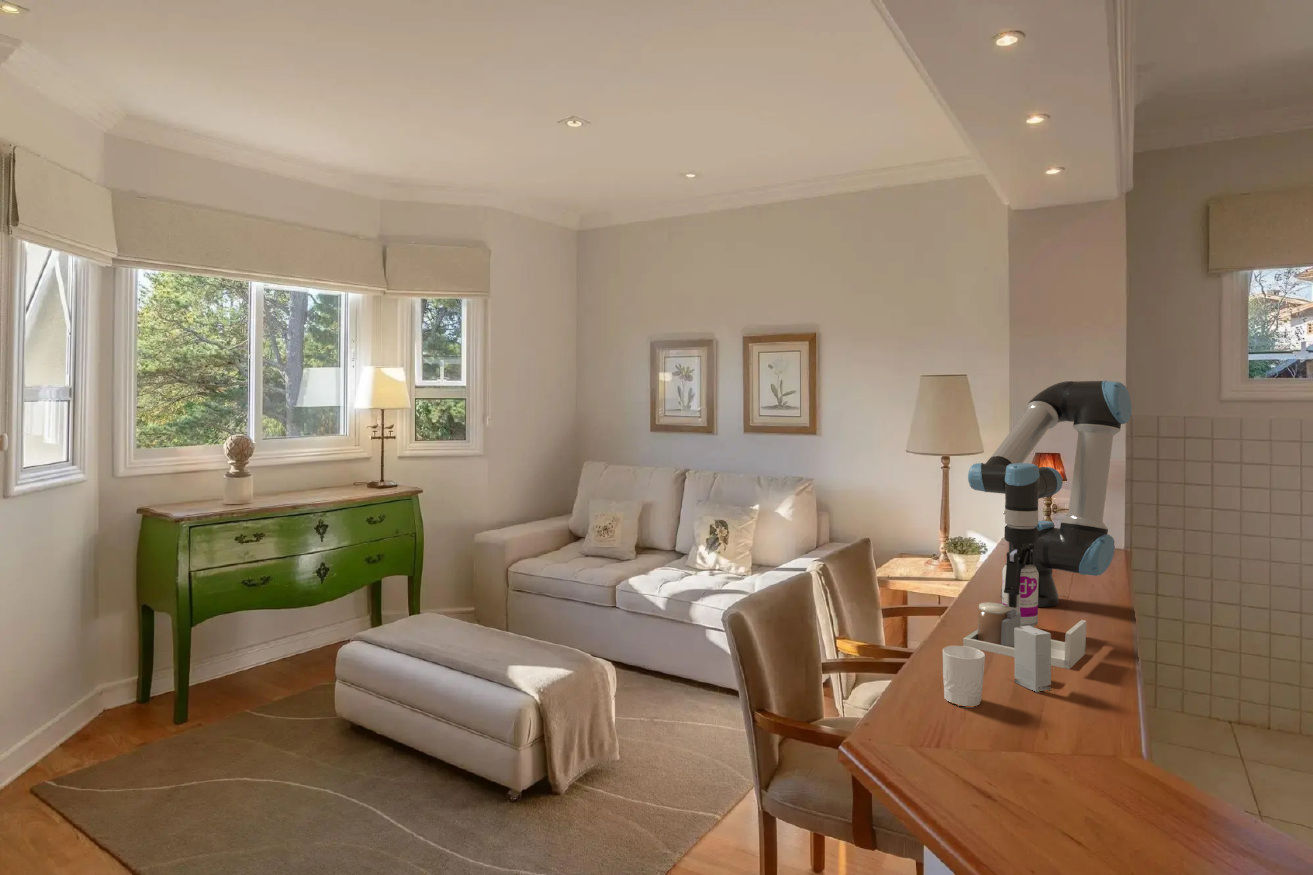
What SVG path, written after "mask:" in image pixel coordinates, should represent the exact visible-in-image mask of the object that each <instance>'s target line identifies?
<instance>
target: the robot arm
mask: <svg viewBox="0 0 1313 875" xmlns="http://www.w3.org/2000/svg"><path fill="white" fill-rule="evenodd" d="M1131 399H1132V398H1131V395H1130V393H1129V390H1128V388H1127V387H1126V385H1125V384H1124V383H1122V382H1120V381H1111V380H1109V381H1108V380H1091V381H1090V380H1089V381H1088V380H1087V381H1086V380H1085V381H1084V380H1082V381H1073V380H1072V381H1071V380H1070V381H1061V382H1058V383H1055V384H1053V385H1051V386H1047V388H1045V389H1043V390H1041V391H1039V393H1037V394H1036V395H1034V396H1033V398H1032V399H1030V400H1029V401H1028V403H1026V405H1025V407H1024V408H1023V416H1022V417H1021V418H1019V420H1018V422H1017V423H1016V424H1015V426H1014V427H1013V428H1012V429H1011V430H1010V432H1009V433H1008V434H1007V436H1006V437H1005V438H1004V439H1003V441H1002V442H1001V443H1000V445H998V448H997V449H996V450H995V451H994V453H993V454H992V455H991V456H990V457H989V459H988V460H987V461H986V463H985V462H984V463H983V462H980V463H979V462H978V463H977V462H975V463H973V464H972V465H971V466H970V468H969V470H968V474H967V482H968V483H969V487H970V488H971V489H973V490H974V491H980V492H984V493H992V494H993V493H994V494H1004V495H1005V498H1004V499H1005V503H1004V510H1003V512H1002V514H1003V515H1004V523H1005V526H1004V533H1003V534H1004V541H1006V542H1008V551H1007V553H1006V563H1007V566H1006V579H1005V590H1004V593H1008V607H1009V611H1011V610H1016V612H1020V594H1019V588H1020V574H1021V569H1023V568H1025V565H1030V564H1033V565H1035V566H1036V569H1037V571H1038V573H1039V579H1038V608H1039V607H1040V608H1045V607H1046V608H1047V607H1053V606H1057V605H1059V593H1058V590H1057V586H1056V583H1055V580H1054V577H1053V570H1057V571H1062V572H1063V571H1064V572H1068V573H1073V574H1079V575H1082V576H1093V577H1094V576H1095V577H1097V576H1098V577H1099V576H1102V575H1103V574H1104V573H1106V571H1107V570H1108V569H1109V567H1110V566H1111V563H1112V560H1113V558H1114V554H1115V548H1116V545H1115V539H1114V538H1113V536H1112V535H1110V534H1108V532H1109V528H1108V527H1107V525H1106V524H1105V523H1104V514H1105V502H1106V498H1107V497H1106V496H1107V489H1108V480H1109V471H1110V464H1111V458H1112V457H1111V456H1112V450H1113V448H1112V447H1113V440H1114V436H1116V435H1117V434H1118V433H1120V432H1121V426H1122V425H1125V424H1127V423H1128V422H1130V419H1131V417H1132V408H1133V406H1132V400H1131ZM1061 422H1063V423H1064V422H1073V424H1072V425H1073V427H1072V428H1074V429H1075V431H1076V432H1077V433H1078V434H1077V441H1076V448H1075V456H1074V465H1073V472H1072V480H1071V488H1070V495H1069V503H1068V513H1067V516H1066V518H1064V519H1062V521H1060V527H1059V528H1058V527H1056V526H1055V523H1054V522H1053V521H1049V520H1039V499H1044V498H1049V497H1052V496H1053V495H1055V494H1057V493H1059V492H1060V490H1061V489H1062V486H1063V484H1064V483H1063V481H1064V480H1063V477H1062V474H1061V473H1060V472H1059V471H1058V469H1056V468H1054V467H1050V466H1040V467H1038V465H1037V464H1034V463H1028V462H1027V463H1025V461H1026V459H1027V458H1028V457H1029V455H1030V454H1031V453H1032V451H1033V450H1034V449H1035V447H1036V446H1037V445H1038V444H1039V442H1040V441H1041V439H1042V438H1043V436H1044V435H1045V434H1046V432H1048V431H1049V430H1051V429H1054V428H1055V426H1057V424H1058V423H1061ZM1012 588H1013V589H1012ZM1000 597H1001V599H1002V588H1001V590H1000Z"/></svg>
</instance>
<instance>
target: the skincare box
mask: <svg viewBox="0 0 1313 875" xmlns="http://www.w3.org/2000/svg"><path fill="white" fill-rule="evenodd" d="M1051 640H1052V633H1050V632H1048V631H1045V630H1043V629H1040V628H1036V627H1035V626H1034V627H1031V626H1022V627H1016V628H1014V649H1015V657H1014V683H1015V684H1017V685H1018V686H1020V687H1024V688H1025V689H1029V691H1032V690H1033V691H1032V692H1034V691H1035V693H1040V692H1039V691H1044V692H1046V691H1045V690H1049V691H1051V690H1052V687H1051V686H1052V665H1051ZM1050 689H1051V690H1050Z"/></svg>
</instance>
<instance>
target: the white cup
mask: <svg viewBox="0 0 1313 875" xmlns="http://www.w3.org/2000/svg"><path fill="white" fill-rule="evenodd" d="M941 651H942V676H943V696H944V697H943V698H944V700H945V699H946V700H947V701H949V702H952V703H955V704H958V705H962V706H975V705H979V704H980V705H981V703H982V691H983V686H984V684H983V683H984V677H985V676H984V675H985V674H984V673H985V672H984V671H985V662H986V653H985V652H983V650H979V649H976V648H972V647H967V646H963V645H947V646H945V647H943V648H942V650H941ZM946 700H945V701H946ZM947 701H946V702H947ZM980 702H981V703H980ZM980 705H979V706H980Z"/></svg>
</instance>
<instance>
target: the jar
mask: <svg viewBox="0 0 1313 875" xmlns="http://www.w3.org/2000/svg"><path fill="white" fill-rule="evenodd" d="M1008 612H1010V611H1009V607H1008V606H1007V605H1004V604H1002V603H999V602H990V601H989V602H988V601H987V602H981V603H979V604H978V608H977V629H978V634H977V640H979V641H984V642H988V643H993V644H998V645H1001V629H1002V621H1003V620H1005V619H1006V618H1007V613H1008Z"/></svg>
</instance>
